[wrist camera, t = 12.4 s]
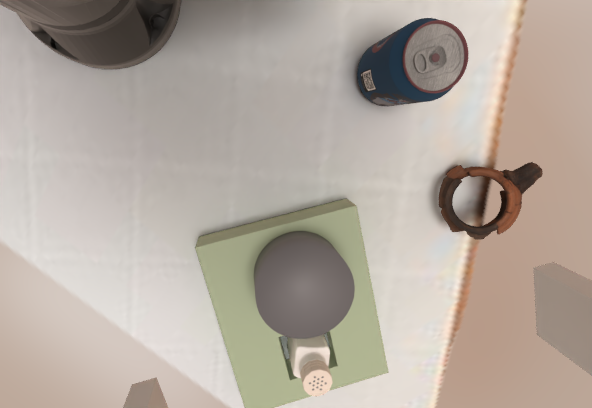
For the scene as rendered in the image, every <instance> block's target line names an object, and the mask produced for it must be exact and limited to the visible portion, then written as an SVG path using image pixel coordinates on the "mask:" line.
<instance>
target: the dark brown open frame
mask: <svg viewBox="0 0 592 408" xmlns="http://www.w3.org/2000/svg"><path fill="white" fill-rule="evenodd" d="M446 175H447V176H446V177H445V178H444V179H443V182H442V184H441V188H440V192H439V207H440V208H442V210H441V214H442V216H443V218H444V219H445V221H446V222H447V223H448V225H449V227H450V229H451V230H452V232H459V231H467V234H468V235H469V236H470V237H474V239H484V238H485V237H486V236H488V235H489V234H490V233H491V232H492V231H495V230H497V234H500V233H503V232H504V231H506V230H507V229H508V228H510V227H511V225H512V224H513V223H514V222H515V220H516V218H517V217H518V214H519V212H520V209H521V203H522V202H521V200H522V194H523V193H524V192H525V191H526V190H527V189H528V188H529V187H530V186H531V185H533V184H534V183H535V181H536V180H537V179H538V178H540V177H541V176H542V169H541V168H540V167H539V166H538V165H537V164H535V163H532V162H531V163H527V164H525V165H524V166H522V167H520V168H518V169H516V170H514V171H509V170H504V171H498V170H494V169H491V168H486V167H469V168H465V169H463V168H462V166H461V165H459V166H456V167H455V168H453V169H452V170H450V171H449V172H448V173H447V174H446ZM467 176H471V177H476V176H484V177H489V178H491V179H493V180H495V181H497V182H498V183H499V184H500V185H501V186H502V187H503V189H504V191H500V195H501V201H502V203H501V208H500V212H499V214H498V215H497V217H496V218H495V219H494V220H492V221H491V222H489V223H488V224H486V225H484V226H482V227H475V226H470V225H467V224H465V223H463V222H462V221H461V220H460V219H459V218H458V217H457V216H456V214H455V212H454V210H453V206H452V199H453V194H454V192H455V190H456V188H457V187H458V186H459V184H460V183H461V182H462V181H461V179H463V178H464V177H467Z"/></svg>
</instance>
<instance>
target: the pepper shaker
mask: <svg viewBox="0 0 592 408" xmlns="http://www.w3.org/2000/svg"><path fill="white" fill-rule="evenodd" d="M287 348H288V352H289V357H290V362H291V367H292V371H293V374H294V376H296V377H297V378H301V380H302V384H303V389H304V390H305V391H306V392H307V393H308V394H309V395H312V396H320V395H324V394H325V393H326V392H327V391H329V390H330V388H331V385H332V383H333V382H332V376H331V373H330V370H329V367H328V366H329V358H330V349H329V346H328V344H327V341H326V339H325V336H324V334H323V335H320V336H317V337H313V338H307V339H296V338H290V337H288V342H287Z"/></svg>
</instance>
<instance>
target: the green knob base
mask: <svg viewBox="0 0 592 408" xmlns="http://www.w3.org/2000/svg"><path fill="white" fill-rule="evenodd" d="M195 249H196V252H197V255H198V259H199V262H200V265H201V268H202V271H203V275H204V278H205V281H206V284H207V288H208V291H209V294H210V297H211V300H212V304H213V307H214V310H215V313H216V316H217V320H218V323H219V326H220V329H221V333H222V336H223V339H224V342H225V345H226V349H227V352H228V355H229V358H230V361H231V365H232V368H233V371H234V374H235V378H236V381H237V384H238V387H239V390H240V394H241V397H242V400H243V403H244V407H245V408H274V407H278V406H281V405H284V404H287V403H291V402H294V401H297V400H300V399H304V398H307V397H310V396H312V395H309V394H308V393H307V392H306V391H305V390H304V389H303V384H302V380H301V378H297V377H296V376H294V374H293V371H292V367H291V362H290V359H287V360H286V358H285V354H284V351H283V347H282V343H281V339H280V337H281V336H286V337H290V338H296V339H307V338H313V337H317V336H320V335H323V334H325V333H327V336H328V340H329V344H330V347H329V349H330V358H329V366H328V367H329V370H330V373H331V376H332V382H333V383H332V385H331V388H330V390H333V389H336V388H339V387H343V386H346V385H349V384H352V383H356V382H359V381H362V380H365V379H369V378H372V377H375V376H378V375H382V374H385V373H388V368H387V362H386V357H385V352H384V347H383V342H382V336H381V331H380V326H379V321H378V316H377V310H376V305H375V300H374V295H373V290H372V284H371V279H370V274H369V269H368V264H367V259H366V253H365V248H364V243H363V238H362V233H361V227H360V222H359V217H358V212H357V207H356V205H355V204H353V203H352V202H351V201H349V200H348V199H342V200H339V201H335V202H331V203H327V204H323V205H319V206H315V207H312V208H308V209H304V210H300V211H296V212H292V213H288V214H285V215H281V216H277V217H273V218H269V219H265V220H261V221H258V222H254V223H250V224H246V225H242V226H238V227H234V228H230V229H227V230H223V231H219V232H215V233H211V234H207V235H203V236H200V237H199V238H198V241H197V244H196V247H195ZM330 390H329V391H330Z"/></svg>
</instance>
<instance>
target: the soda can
mask: <svg viewBox="0 0 592 408" xmlns="http://www.w3.org/2000/svg"><path fill="white" fill-rule="evenodd" d="M467 62H468V47H467V43H466V40H465V38H464V36H463V34H462V33H461V31H460V30H459V29H458V28H457V27H456V26H454V25H453V24H451V23H449V22H446V21H442V20H437V19H433V18H424V19H419V20H416V21H414V22H412V23H410V24H408V25H406V26H405V27H403V28H401V29H400V30H398V31H396V32H394V33H393V34H391V35H389V36H388V37H386V38H384V39H382V40H381V41H379V42H377V43H376V44H374V45H372V46H371V47H370V48H369V49H368V50H367V51H366V52H365V53H364V54H363V56H362V58H361V60H360V62H359V66H358V72H357V77H358V83H359V87H360V89H361V91H362V93H363V94H364V96H365V97H366V98H367V99H368V100H370V101H371V102H373V103H374V104H377V105H380V106H394V105H402V104H410V103H418V102H426V101H432V100H435V99H438V98H440V97H442V96H443V95H445V94H446V93H447V92H448V91H449V90H451V88H452V87H453V86H454V85H455V84H456V83H457V82H458V81H459V80H460V79H461V77H462V76H463V74H464V72H465V69H466V67H467Z"/></svg>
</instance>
